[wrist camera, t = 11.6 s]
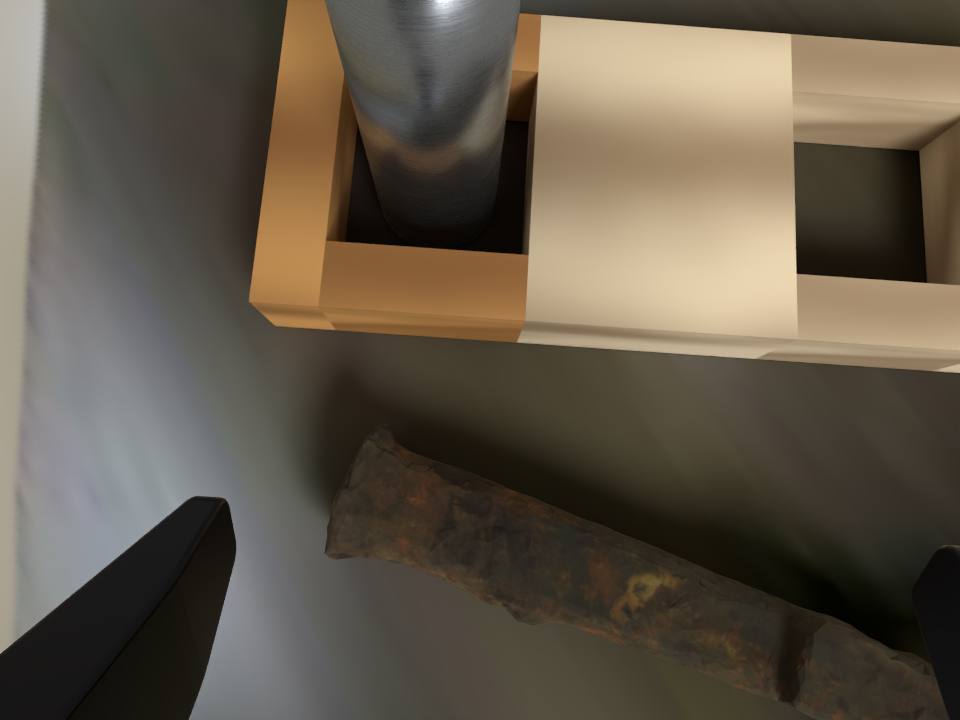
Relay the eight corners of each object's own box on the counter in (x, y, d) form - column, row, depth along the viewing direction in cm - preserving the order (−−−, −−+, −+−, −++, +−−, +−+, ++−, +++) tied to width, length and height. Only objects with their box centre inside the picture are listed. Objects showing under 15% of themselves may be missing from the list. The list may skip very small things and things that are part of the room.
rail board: (1020, 376, 24) (1100, 360, 21) (275, 326, 23) (249, 301, 20) (997, 106, 26) (1068, 55, 23) (308, 54, 25) (288, -5, 22)
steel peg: (513, 226, 24) (575, -76, 11) (405, 268, 24) (343, 4, 11) (469, 126, 25) (480, -265, 12) (362, 165, 24) (256, -196, 12)
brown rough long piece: (328, 541, 22) (295, 555, 18) (381, 424, 23) (362, 409, 18) (895, 790, 21) (1013, 872, 17) (931, 661, 22) (1054, 706, 18)
